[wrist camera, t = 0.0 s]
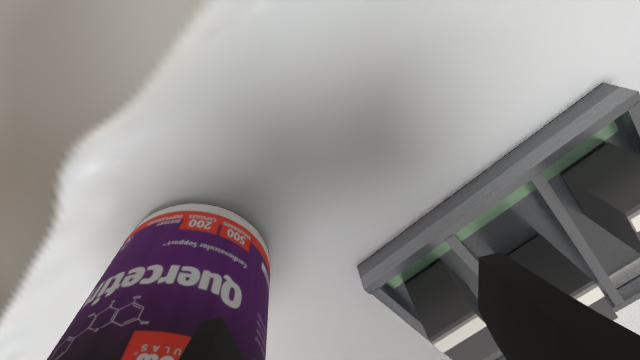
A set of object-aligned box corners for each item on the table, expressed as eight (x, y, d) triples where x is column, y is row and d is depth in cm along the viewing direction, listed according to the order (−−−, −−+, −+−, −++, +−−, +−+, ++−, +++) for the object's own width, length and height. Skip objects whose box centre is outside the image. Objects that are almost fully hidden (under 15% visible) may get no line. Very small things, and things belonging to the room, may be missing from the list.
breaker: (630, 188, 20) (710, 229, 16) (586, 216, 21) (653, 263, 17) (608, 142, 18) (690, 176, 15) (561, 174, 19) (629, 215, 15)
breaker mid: (565, 268, 23) (621, 320, 19) (527, 291, 23) (574, 346, 20) (540, 234, 21) (596, 283, 17) (500, 260, 22) (546, 313, 18)
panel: (675, 241, 24) (706, 260, 22) (471, 363, 28) (484, 387, 26) (603, 82, 18) (638, 91, 16) (357, 266, 22) (363, 289, 20)
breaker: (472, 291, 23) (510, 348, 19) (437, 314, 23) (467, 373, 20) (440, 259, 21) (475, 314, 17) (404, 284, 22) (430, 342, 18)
